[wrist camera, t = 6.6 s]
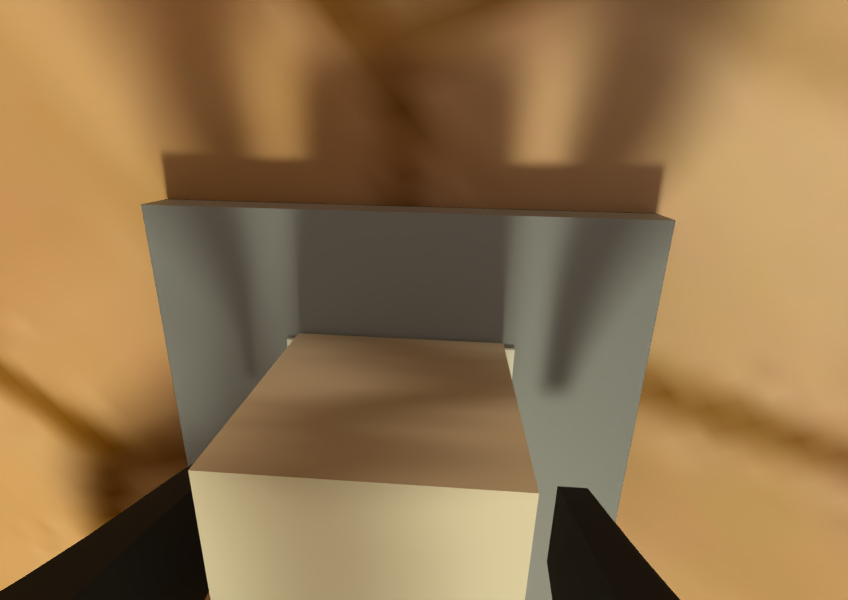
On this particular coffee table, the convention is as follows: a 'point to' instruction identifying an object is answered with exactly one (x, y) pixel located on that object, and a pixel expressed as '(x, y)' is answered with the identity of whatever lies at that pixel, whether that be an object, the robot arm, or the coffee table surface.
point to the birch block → (371, 477)
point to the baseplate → (423, 313)
